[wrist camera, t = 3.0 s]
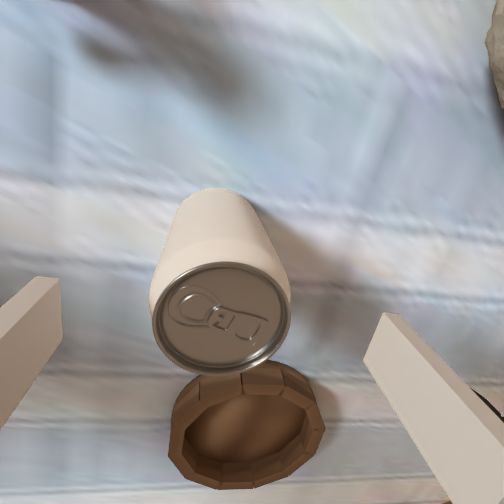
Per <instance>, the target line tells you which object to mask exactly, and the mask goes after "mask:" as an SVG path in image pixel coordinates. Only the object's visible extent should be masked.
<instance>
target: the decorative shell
mask: <svg viewBox="0 0 504 504" xmlns="http://www.w3.org/2000/svg"><path fill="white" fill-rule="evenodd" d="M485 44H486V47H487V49H488V54H489V67H490V69H491V71H492V72H493V78H494V83H495V85H496V88H497V92H498V97H499V101H500V104H501V107H502V108H503V109H504V0H497V2H496V5H495V8H494V11H493V14H492V25H491V28H490V29H489V31H488V33H487V37H486V41H485Z"/></svg>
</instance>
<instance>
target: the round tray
mask: <svg viewBox="0 0 504 504" xmlns="http://www.w3.org/2000/svg"><path fill="white" fill-rule="evenodd" d="M324 431H325V426H324V423H323V420H322V417H321V415H320V412H319V409H318V406H317V403H316V399H315V396H314V394H313V391H312V389H311V387H310V385H309V383H308V382H307V380H306V379H305V378H304V377H303V376H302V375H301V374H300V373H299V372H297V371H296V370H295V369H293V368H291V367H289V366H287V365H285V364H282V363H279V362H275V361H271V360H266V361H265V362H263V363H262V364H260V365H259V366H257V367H255V368H253V369H251V370H248V371H246V372H243V373H239V374H235V375H229V376H206V375H199V376H197V377H196V378H195V379H193V380H192V381H191V382H190V383H189V384H188V385H187V386H186V387H185V388H184V389H183V390H182V392H181V393H180V395H179V396H178V398H177V400H176V402H175V404H174V407H173V412H172V419H171V435H170V443H169V451H168V457H169V458H170V460H171V461H172V462H173V463H174V465H175V466H176V467H177V469H178V470H179V471H180V472H181V474H182V475H183V476H184V478H186V479H188V480H190V481H193V482H196V483H199V484H202V485H205V486H207V487H210V488H213V489H217V488H218V490H228V489H253V487H254V488H257V487H260V486H263V485H265V484H268V483H271V482H274V481H277V480H279V479H282V478H285V477H288V475H289V476H290V475H291V474H292V473H293V472H294V471H296V470H297V469H298V468H299V467H300V466H302V465H303V464H304V463H305V462H307V461H308V460H309V459H310V458H311V457H313V456H314V454H315V453H316V450H317V448H318V445H319V443H320V441H321V438H322V436H323V433H324Z"/></svg>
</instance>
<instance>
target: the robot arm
mask: <svg viewBox="0 0 504 504" xmlns="http://www.w3.org/2000/svg"><path fill="white" fill-rule="evenodd" d="M62 340H63V333H62V313H61V294H60V279H59V278H50V277H40V276H36V277H35V278H34V279H32V280H31V281H30V282H29V283H28V284H27V285H26V286H24V287H23V288H22V289H21V290H20V291H19V292H18V293H16V294H15V295H14V296H13V297H12V298H11V299H10V300H8V301H7V302H6V303H5V304H4V305H3V306H2V307H0V430H1V428H2V427H3V426H4V424H5V423H6V421H7V420H8V418H9V417H10V415H11V414H12V412H13V411H14V410H15V408H16V407H17V405H18V404H19V402H20V401H21V399H22V398H23V397H24V395H25V394H26V392H27V391H28V389H29V388H30V386H31V385H32V383H33V382H34V381H35V379H36V378H37V376H38V375H39V373H40V372H41V370H42V369H43V368H44V366H45V365H46V363H47V362H48V360H49V359H50V357H51V356H52V354H53V353H54V352H55V350H56V349H57V347H58V346H59V344H60V343H61V341H62ZM363 362H364V363H365V365H366V366H367V368H368V370H369V371H370V373H371V374H372V376H373V378H374V379H375V381H376V382H377V384H378V386H379V387H380V389H381V390H382V392H383V394H384V395H385V397H386V398H387V400H388V402H389V403H390V405H391V406H392V408H393V409H394V411H395V413H396V414H397V416H398V417H399V419H400V421H401V422H402V424H403V425H404V427H405V429H406V430H407V432H408V433H409V435H410V437H411V438H412V440H413V441H414V443H415V445H416V446H417V448H418V449H419V451H420V453H421V454H422V456H423V457H424V459H425V460H426V462H427V464H428V465H429V467H430V468H431V470H432V472H433V473H434V475H435V476H436V478H437V480H438V481H439V483H440V484H441V486H442V488H443V489H444V491H445V492H446V494H447V496H448V497H449V499H450V500H451V502H452V504H504V417H501V414H500V413H499V412H498V411H497V410H496V409H495V408H494V407H493V406H492V405H491V404H490V403H489V401H488V400H486V399H485V398H484V397H482V396H481V395H480V394H478V393H477V392H476V391H474V390H473V389H471V388H470V387H469V386H468V385H467V384H466V383H465V382H464V381H463V380H462V379H461V378H460V377H459V376H458V375H457V374H456V373H455V372H454V371H453V370H452V369H451V368H450V367H449V366H448V365H447V364H446V363H445V362H444V360H443V359H442V358H441V357H440V356H439V355H438V354H437V353H436V352H435V351H434V350H433V349H432V348H431V347H430V346H429V345H428V344H427V343H426V342H425V341H424V340H423V339H422V338H421V337H420V336H419V335H418V334H417V333H416V331H415V330H414V329H413V328H412V327H411V326H410V325H409V324H408V323H407V322H406V321H405V320H404V319H403V318H402V317H401V316H400V315H399V314H395V313H386V312H383V314H382V316H381V319H380V321H379V323H378V326H377V328H376V330H375V333H374V335H373V338H372V340H371V342H370V345H369V347H368V349H367V352H366V354H365V357H364V359H363Z"/></svg>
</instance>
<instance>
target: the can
mask: <svg viewBox="0 0 504 504" xmlns="http://www.w3.org/2000/svg"><path fill="white" fill-rule="evenodd" d="M290 300H291V292H290V285H289V281H288V277H287V274H286V272H285V270H284V267H283V265H282V263H281V261H280V259H279V257H278V255H277V253H276V251H275V249H274V247H273V245H272V243H271V241H270V239H269V237H268V235H267V233H266V232H265V230H264V228H263V226H262V224H261V222H260V220H259V218H258V216H257V214H256V213H255V211H254V209H253V208H252V206H251V205H250V204H249V202H248V201H247V200H246V199H245V198H243V197H242V196H241V195H239V194H238V193H236V192H234V191H231V190H228V189H224V188H207V189H203V190H200V191H198V192H195V193H194V194H192V195H190V196H189V197H188V198H186V199H185V200H184V201H183V202H182V203H181V205H180V206H179V208H178V210H177V212H176V214H175V216H174V219H173V222H172V224H171V227H170V230H169V233H168V235H167V238H166V241H165V244H164V247H163V250H162V253H161V255H160V258H159V261H158V264H157V267H156V270H155V273H154V276H153V280H152V283H151V287H150V294H149V308H150V313H151V317H152V327H153V333H154V337H155V340H156V342H157V344H158V346H159V348H160V349H161V351H162V352H163V353H164V354H165V355H166V356H167V357H168V358H169V359H170V360H171V361H172V362H173V363H175V364H176V365H178V366H179V367H181V368H183V369H185V370H187V371H190V372H193V373H196V374H200V375H206V376H229V375H235V374H239V373H243V372H246V371H248V370H251V369H253V368H255V367H257V366H259V365H260V364H262V363H263V362H265V361H266V360H268V359H269V358H270V357H271V356H272V355H273V354H274V353H275V352H276V351H277V350H278V349H279V348H280V346H281V345H282V343H283V342H284V340H285V338H286V336H287V333H288V330H289V327H290V321H291V311H290Z"/></svg>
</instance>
